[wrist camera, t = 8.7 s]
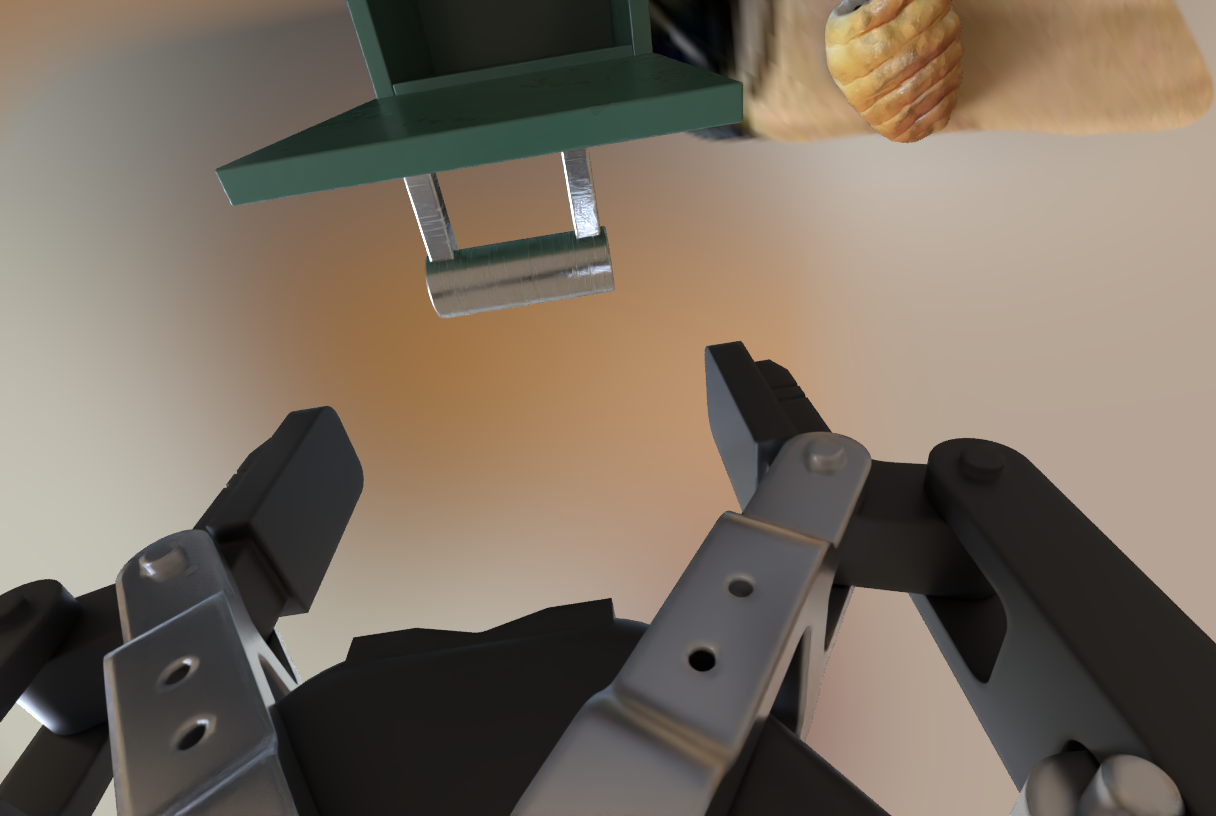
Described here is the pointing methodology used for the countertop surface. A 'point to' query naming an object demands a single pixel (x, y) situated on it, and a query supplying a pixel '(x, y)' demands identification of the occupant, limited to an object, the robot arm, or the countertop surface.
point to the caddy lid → (489, 133)
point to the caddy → (490, 38)
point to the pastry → (897, 63)
